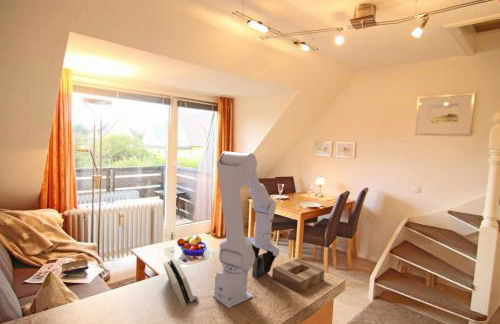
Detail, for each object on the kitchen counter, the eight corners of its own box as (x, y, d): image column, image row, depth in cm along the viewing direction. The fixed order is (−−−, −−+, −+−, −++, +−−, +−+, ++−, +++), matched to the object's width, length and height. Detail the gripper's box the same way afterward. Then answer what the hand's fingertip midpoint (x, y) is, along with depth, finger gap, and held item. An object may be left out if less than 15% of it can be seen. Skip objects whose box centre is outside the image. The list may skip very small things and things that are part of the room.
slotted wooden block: (299, 292, 88) (300, 282, 88) (272, 277, 97) (272, 268, 97) (323, 279, 98) (324, 270, 98) (296, 267, 107) (297, 258, 107)
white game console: (199, 302, 80) (189, 273, 78) (183, 311, 78) (173, 281, 75) (183, 276, 94) (174, 250, 92) (170, 283, 92) (160, 257, 90)
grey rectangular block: (255, 278, 96) (257, 259, 96) (252, 276, 97) (253, 257, 97) (267, 273, 100) (269, 255, 100) (263, 271, 102) (265, 253, 101)
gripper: (286, 234, 95) (283, 273, 96) (256, 223, 106) (254, 258, 107) (272, 238, 90) (269, 278, 91) (243, 226, 101) (240, 263, 102)
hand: (260, 268), depth 99 cm, fingers open, 6 cm apart
